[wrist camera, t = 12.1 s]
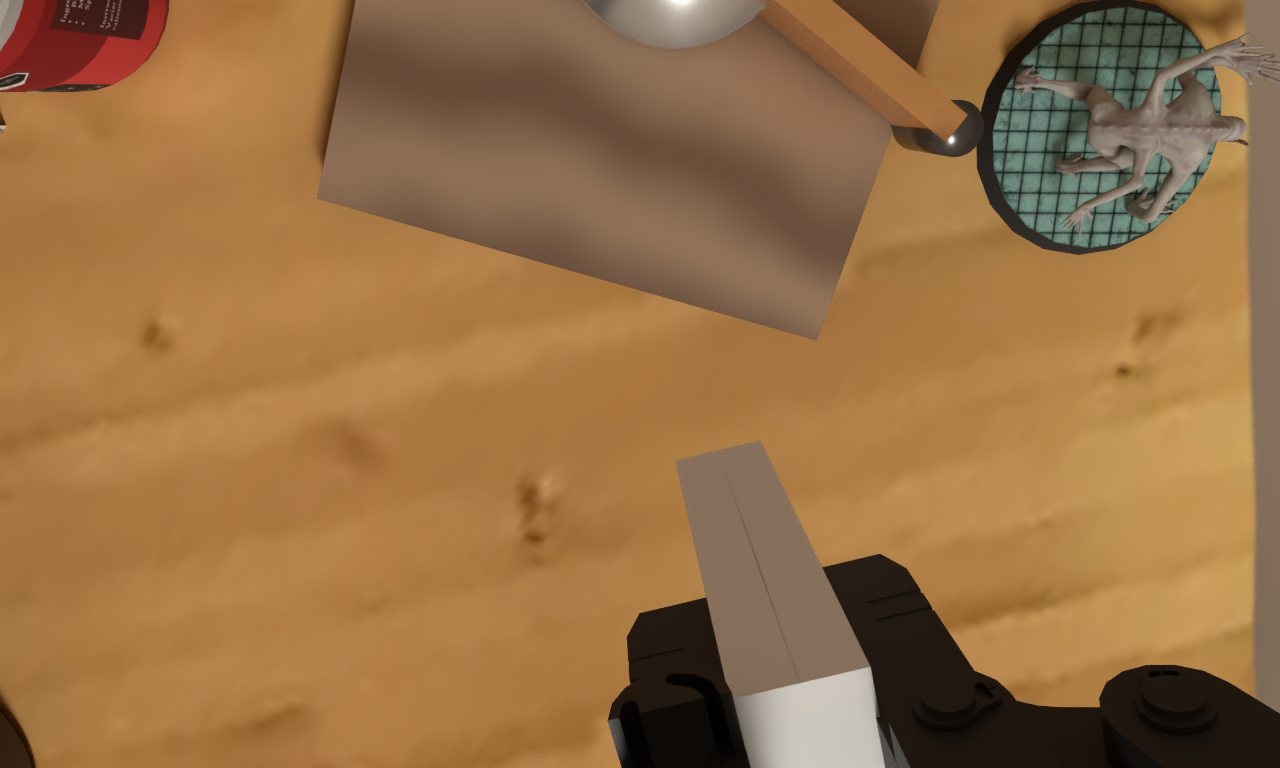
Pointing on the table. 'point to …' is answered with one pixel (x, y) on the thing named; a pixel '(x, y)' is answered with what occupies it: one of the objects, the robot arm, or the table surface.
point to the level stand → (617, 147)
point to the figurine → (1105, 124)
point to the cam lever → (806, 15)
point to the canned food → (76, 42)
